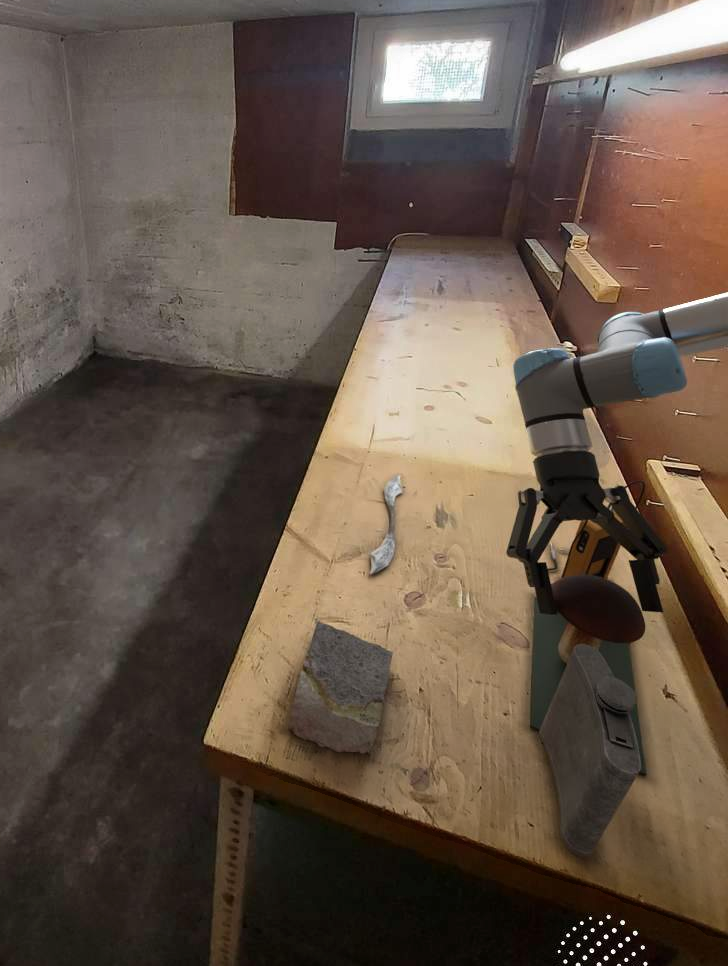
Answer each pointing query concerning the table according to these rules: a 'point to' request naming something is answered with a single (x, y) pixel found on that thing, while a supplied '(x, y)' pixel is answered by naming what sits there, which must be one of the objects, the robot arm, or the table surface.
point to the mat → (552, 668)
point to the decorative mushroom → (595, 613)
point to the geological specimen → (340, 691)
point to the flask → (590, 747)
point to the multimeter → (592, 548)
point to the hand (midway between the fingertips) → (600, 613)
